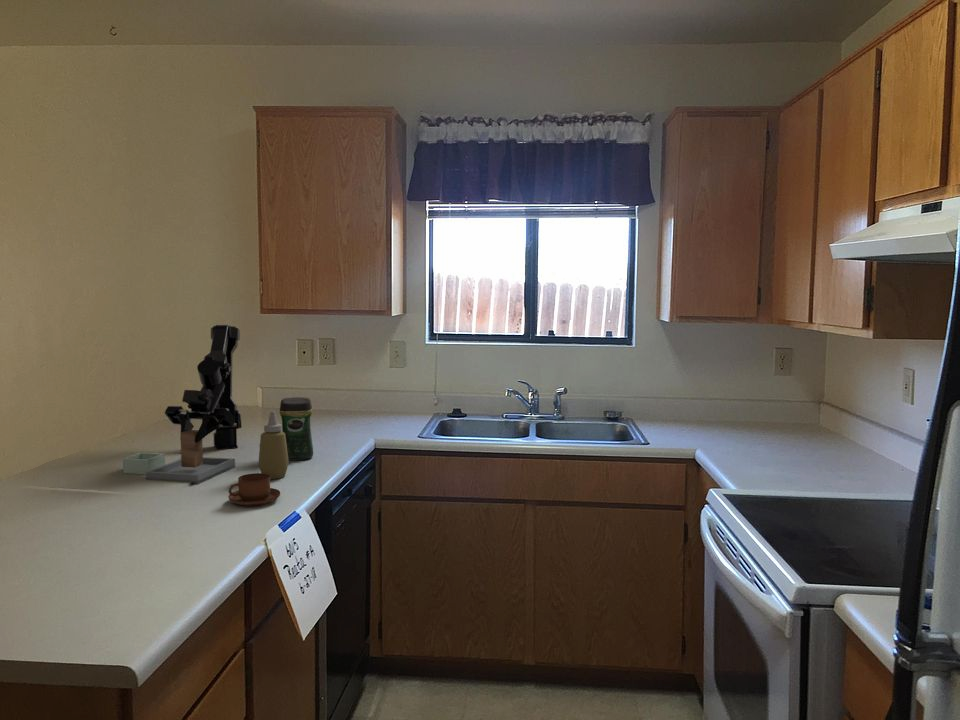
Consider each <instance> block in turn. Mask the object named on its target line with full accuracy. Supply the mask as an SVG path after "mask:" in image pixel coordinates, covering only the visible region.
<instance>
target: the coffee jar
mask: <svg viewBox="0 0 960 720" xmlns="http://www.w3.org/2000/svg"><path fill="white" fill-rule="evenodd" d="M312 414H313V407H312V401H311V398H310V397H304V396H301V397H300V396H298V397H297V396H294V397H285V398H282V399H281V400H280V405H279V415H280V418H281V425H282V432H284V433H285V436H286V444H287V452H288V461H301V460H303V461H304V460H308V459H312V458H313V456H314V445H313V440H312V429H311V416H312Z"/></svg>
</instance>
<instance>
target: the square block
mask: <svg viewBox="0 0 960 720" xmlns="http://www.w3.org/2000/svg"><path fill="white" fill-rule="evenodd" d="M198 431H199V429H192V430H187V431H184V432H181V431H180V434H179V435H180V436H181V440H180V459H181V466H182V467H194V468H195V467H197V466H200V465H202V464H203V457H204V454H203V453H204V452H203V439H202V440H200V441H199V442H198V443H196V442H195V438H196V435H197V433H198Z"/></svg>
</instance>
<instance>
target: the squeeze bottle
mask: <svg viewBox="0 0 960 720" xmlns="http://www.w3.org/2000/svg"><path fill="white" fill-rule="evenodd" d="M259 442H260V443H259V451H258V452H259V453H258V454H259V455H258V464H257V465H258V466H257V467H259V471H260V473H263V474H268V475H270V480H276V479H281V478H283V477H284V478H285V476H286V473H287V471H288V467H289V464H290V463H289V461H290V460H288V452H287V444H286V436H285V433H284V432H282V423H278V419H277V415H276V411H273V410H271V411H270V413H269V417H268V423H265V424H264V425H263V432H262V433H261V434H260V441H259Z"/></svg>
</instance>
